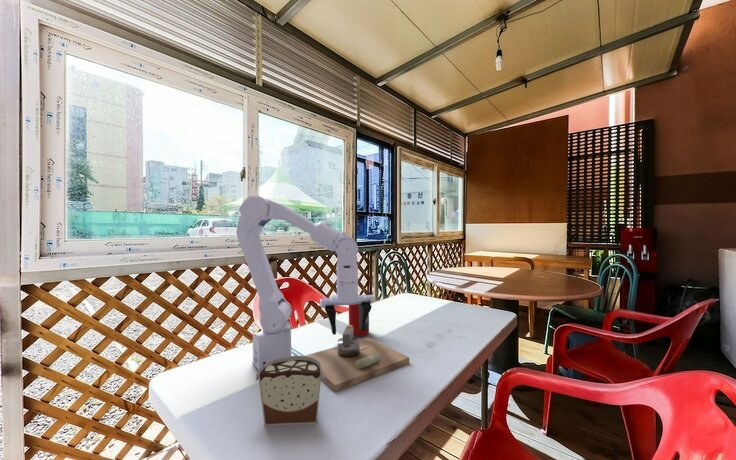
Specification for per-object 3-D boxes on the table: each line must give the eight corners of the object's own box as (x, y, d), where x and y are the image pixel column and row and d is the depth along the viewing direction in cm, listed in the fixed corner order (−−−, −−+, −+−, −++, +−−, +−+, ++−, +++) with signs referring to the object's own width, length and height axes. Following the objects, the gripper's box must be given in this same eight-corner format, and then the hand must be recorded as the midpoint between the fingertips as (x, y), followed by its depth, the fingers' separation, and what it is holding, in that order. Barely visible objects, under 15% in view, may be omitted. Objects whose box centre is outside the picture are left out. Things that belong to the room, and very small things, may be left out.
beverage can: (369, 337, 94) (368, 300, 94) (348, 337, 94) (347, 300, 94) (369, 330, 101) (368, 295, 101) (349, 330, 101) (349, 295, 101)
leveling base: (335, 392, 62) (334, 375, 62) (301, 362, 77) (301, 349, 77) (409, 363, 75) (409, 349, 75) (368, 342, 90) (368, 331, 90)
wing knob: (357, 358, 75) (357, 333, 75) (334, 357, 75) (334, 333, 75) (360, 347, 82) (360, 325, 82) (339, 346, 82) (339, 324, 82)
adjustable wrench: (273, 343, 89) (288, 338, 93) (273, 346, 89) (288, 341, 93) (294, 357, 79) (310, 352, 82) (294, 361, 79) (310, 355, 82)
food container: (328, 403, 59) (327, 353, 59) (325, 423, 52) (324, 367, 52) (266, 405, 58) (266, 355, 58) (255, 426, 52) (255, 370, 52)
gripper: (368, 277, 85) (368, 324, 85) (318, 280, 80) (318, 330, 80) (376, 281, 78) (377, 332, 78) (322, 285, 74) (322, 338, 74)
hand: (347, 331), depth 79 cm, fingers open, 7 cm apart
